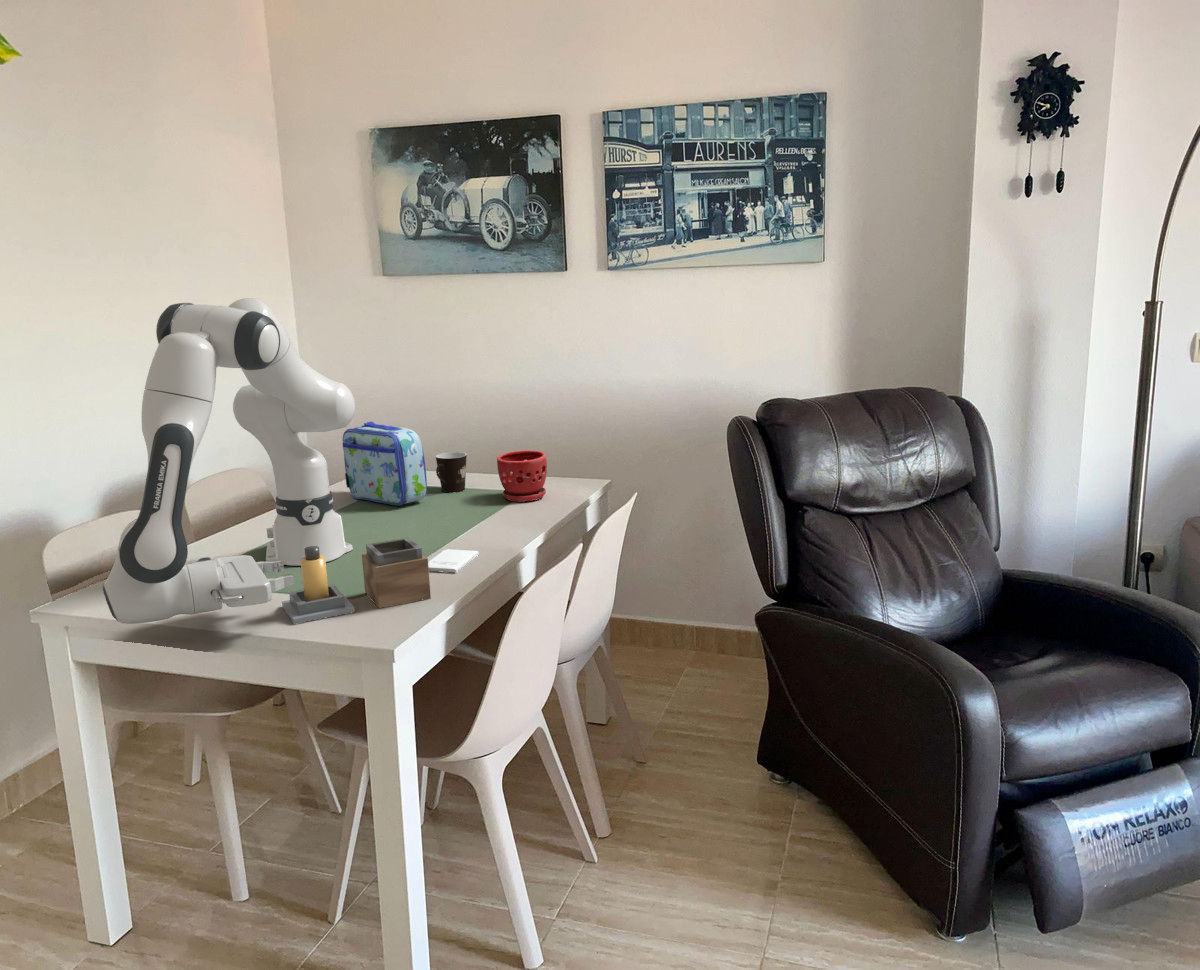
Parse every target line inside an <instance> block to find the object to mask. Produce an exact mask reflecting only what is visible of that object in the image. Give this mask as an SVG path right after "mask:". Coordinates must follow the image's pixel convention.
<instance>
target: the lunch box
mask: <svg viewBox="0 0 1200 970" xmlns="http://www.w3.org/2000/svg"><path fill="white" fill-rule="evenodd" d="M342 449H343V456H344V457H343V458H344V459H343V460H344V469H345V474H344V476H345V477H344V478H345V486H346V488H348V489H349V491H350V494H351V496H352V498H353V499H355V500H364V501H370V502H375V503H380V504H385V505H391V506H398V507H399V506H403V505H405V504H406V505H407V504H410V503H413V502H416V501H421V500H424V498H425V497H426V496H427V491H428V490H427V489H428V482H427V481H428V480H427V471H426V470H427V469H426V461H425V453H424V447H423V444H422V441H421V438H420V436H419V434H417V432H415V431H414V430H413V429H410V428H407V427H402V426H396V425H389V424H379V423H377V424H376V423H375V422H374V421H368V422H367V421H366V422H364V423H363V425H361V426H355V427H353V428H347V429H346V430H345V431H344V432H343V434H342Z"/></svg>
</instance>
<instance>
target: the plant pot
mask: <svg viewBox="0 0 1200 970" xmlns="http://www.w3.org/2000/svg"><path fill="white" fill-rule="evenodd" d="M496 464H497V472H498V476H499V477H498V478H499V479H500V483H501V486H502V488H503V489H504V490H503V491H502V495H503V497H504V498H505V499H506V500H508V501H511V502H515V501H516V503H525V501H527V502H533V500H536V501H537V500H539V499H541V498H543V497H544V496H545V495H546V492H547V489H546V488H545V487H544V486H545V483H546V480H547V473H548V472H547V469H548V468H547V467H548V465H547V455H546V453H545V452H543V451H541V450H527V449H526V450H517V451H516V450H514V451H509V452H506V453H501V454H500V455H498V456H497V457H496Z"/></svg>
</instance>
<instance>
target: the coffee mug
mask: <svg viewBox="0 0 1200 970" xmlns="http://www.w3.org/2000/svg"><path fill="white" fill-rule="evenodd" d="M467 456H468V454H467V453H466V452H460V451H459V452H458V451H457V452H456V451H455V452H454V451H452V452H443V453H438V454H436V455H435V461H436V466H437V467H436V469H435V471H436V472H435V473H436V476H437V478H438V480H439V481H440V487H441V491H443V492H442V493H445V494H446V493H447V494H448V493H449V494H451V493H452V494H454V493H453V492H456V493H461V492H464V491H465V490H466V477H467V476H466V474H467V473H466V472H467ZM463 490H464V491H463ZM460 491H461V492H460Z"/></svg>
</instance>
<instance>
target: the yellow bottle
mask: <svg viewBox="0 0 1200 970" xmlns="http://www.w3.org/2000/svg"><path fill="white" fill-rule="evenodd" d="M304 550H305V557H303V558H301V565H300V567H301V568H300V569H301V576H302V586H303V587H302V589H304V597H305V602H309V601H314V600H319V599H324V598H329V591H328V585H329V582H328V573H327V564H326V563H327V562H326V561H325V556H323V555H320V552H319V547H318V546H310V547H306V548H305V549H304Z"/></svg>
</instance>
